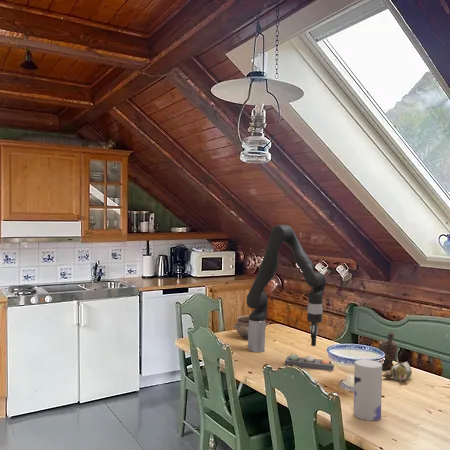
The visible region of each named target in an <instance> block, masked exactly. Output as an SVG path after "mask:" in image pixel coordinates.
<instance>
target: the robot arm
mask: <svg viewBox="0 0 450 450" xmlns="http://www.w3.org/2000/svg"><path fill="white" fill-rule="evenodd" d="M268 240H269V241H268V242H267V243H268V244H267V247H266V249H265V253H264V255H263V258H262V259H261V260H262V261H261V262H260V263H261V264H260V266H259V269H258V271H257V273H256V276H255V279H254V282H253V283H252V286H251V287H250V289H249V292H248V294H247V296H246V305H247V307H248V308H249V309H253V311H252V312H251V313H250V314H249V315H248V316H249V332H248V339H247V350H248V351H249V352H253V353H262V352H264V351H265V347H266V346H265V345H266V328H265V323H266V317H267V315H268V302H269V300H268V295H267V294H266V292H265V291H264V289H265V287H266V286H267V285H268V284H269V283H270V282H271V281H272V280H273V278H274V277H275V275H276V273H277V270H278V267H279V264H280V262H279V249H280V248H281V246H282V243H286V244H287V245H288V246H289V248H290V250H291V252H292V256H293V259H294V262H295V264H296V265H297V266H298V268H299V270H300V271H301V272H302V275H303V279H304V280H305V282H306V284H307V285H308V286H309V287H310V288H312V289H311V291H310V292H309V293H308V300H307V301H308V303H307V312H306V313H307V317H306V320H307V322H309V323H311V324H310V325H309V329H310V338H311V343H310V345H311V346H312V347H316V346H317V338H318V333H319V324H318V323H322V322H323V312H324V311H323V297H324V296H323V295H324V292H325V288H326V285H327V284H326V282H327V281H326V280H327V279H326V275H325V274H324V273H322V272H315V271H314V268H315V264H314V262H312V260H311V259H310V257H309V255H308V254H307V253H306V251H305V250H304V249H303V247H302V244H301V243H300V241H299V239H298V237H297V235H296V233H295V231H294V229H293V227H292V226H290V225H288V224H277V225H275V226H274V227H272V230H271V232H270V235H269V239H268ZM311 346H310V347H311Z"/></svg>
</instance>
